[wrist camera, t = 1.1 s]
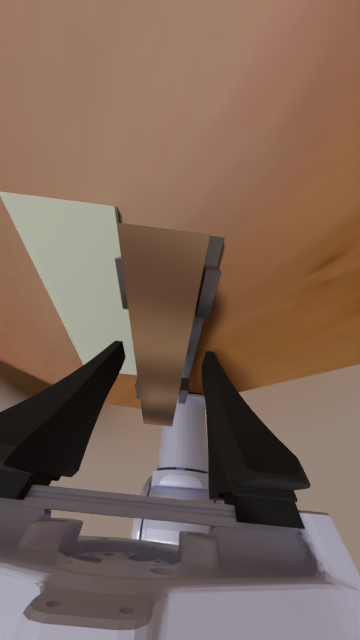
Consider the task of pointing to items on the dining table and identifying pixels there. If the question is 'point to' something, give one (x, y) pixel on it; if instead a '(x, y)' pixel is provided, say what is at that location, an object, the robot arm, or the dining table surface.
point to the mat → (77, 268)
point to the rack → (201, 312)
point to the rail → (161, 309)
